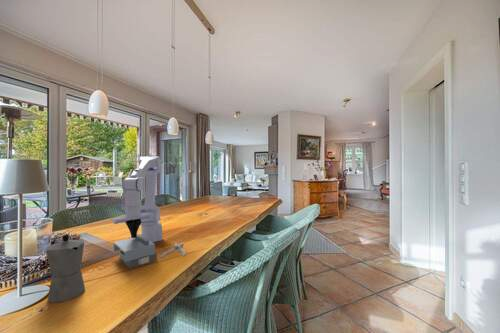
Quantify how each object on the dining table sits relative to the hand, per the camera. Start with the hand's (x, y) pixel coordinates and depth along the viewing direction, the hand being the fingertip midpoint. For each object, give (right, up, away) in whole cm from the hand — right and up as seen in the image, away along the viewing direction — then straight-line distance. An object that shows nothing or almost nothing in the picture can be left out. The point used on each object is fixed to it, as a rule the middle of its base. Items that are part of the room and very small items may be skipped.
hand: (133, 237), depth 95 cm
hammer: (+16, -8, +5) cm, 19 cm away
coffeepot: (-6, -8, -28) cm, 30 cm away
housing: (+4, -8, -4) cm, 9 cm away
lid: (+2, -5, -5) cm, 7 cm away
